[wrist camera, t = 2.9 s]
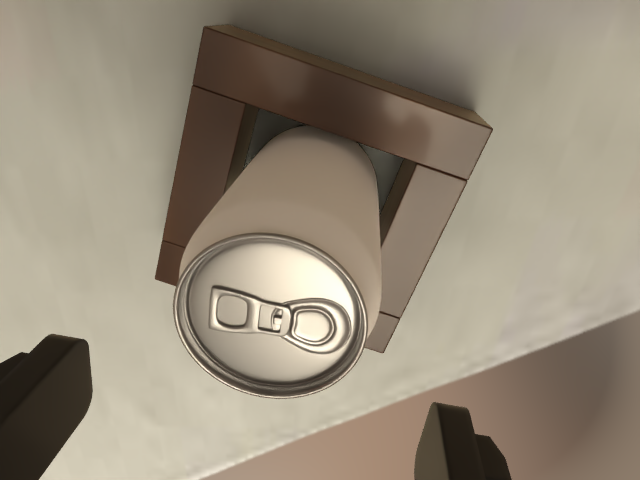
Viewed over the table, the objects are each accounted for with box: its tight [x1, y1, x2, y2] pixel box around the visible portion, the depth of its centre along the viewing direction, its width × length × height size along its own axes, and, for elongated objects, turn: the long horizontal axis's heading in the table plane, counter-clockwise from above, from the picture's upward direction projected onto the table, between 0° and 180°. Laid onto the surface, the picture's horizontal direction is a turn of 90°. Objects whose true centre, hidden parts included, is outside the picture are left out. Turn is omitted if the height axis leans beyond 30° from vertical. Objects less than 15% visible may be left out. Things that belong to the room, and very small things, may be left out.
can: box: [173, 125, 382, 399], centre depth 19 cm, size 6×6×12 cm
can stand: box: [155, 25, 493, 353], centre depth 23 cm, size 12×12×4 cm
